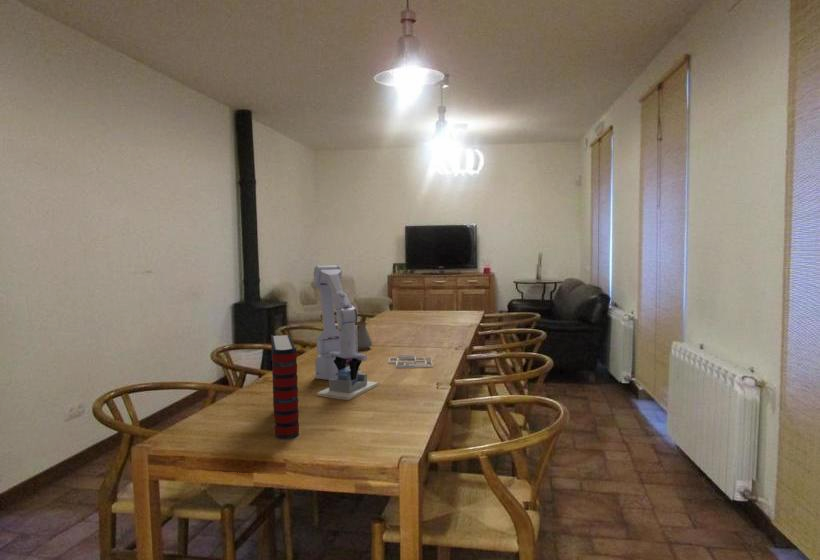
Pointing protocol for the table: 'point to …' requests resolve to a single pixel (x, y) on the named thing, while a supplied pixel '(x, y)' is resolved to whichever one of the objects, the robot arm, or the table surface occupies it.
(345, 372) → the block
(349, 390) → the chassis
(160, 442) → the table surface
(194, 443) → the table surface
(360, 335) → the coffee pot
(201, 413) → the table surface
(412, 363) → the floor plan model
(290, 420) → the book
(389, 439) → the table surface
